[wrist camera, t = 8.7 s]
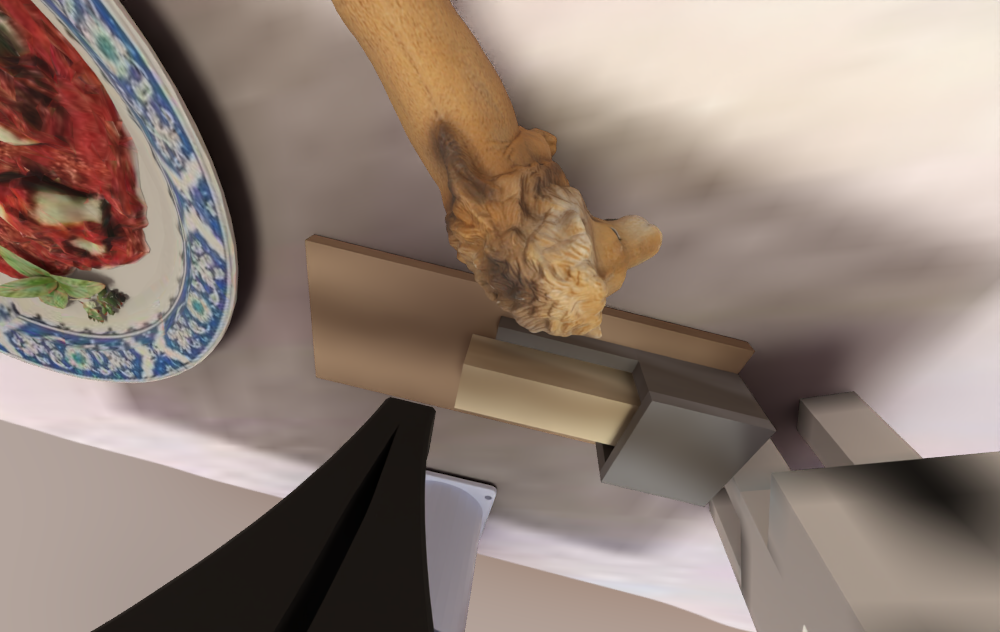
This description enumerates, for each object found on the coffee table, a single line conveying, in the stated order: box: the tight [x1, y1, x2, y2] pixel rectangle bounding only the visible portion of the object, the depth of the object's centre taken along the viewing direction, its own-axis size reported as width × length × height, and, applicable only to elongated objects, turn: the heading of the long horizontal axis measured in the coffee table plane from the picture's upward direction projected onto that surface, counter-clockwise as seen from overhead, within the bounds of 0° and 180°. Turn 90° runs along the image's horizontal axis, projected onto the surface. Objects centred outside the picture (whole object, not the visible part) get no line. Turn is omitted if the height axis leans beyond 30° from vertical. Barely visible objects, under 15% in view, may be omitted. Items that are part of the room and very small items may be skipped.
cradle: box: [305, 235, 776, 507], centre depth 19 cm, size 9×22×4 cm, turn 78°
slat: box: [454, 334, 641, 446], centre depth 19 cm, size 3×12×2 cm, turn 78°
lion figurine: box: [332, 0, 662, 338], centre depth 10 cm, size 15×5×9 cm, turn 38°
